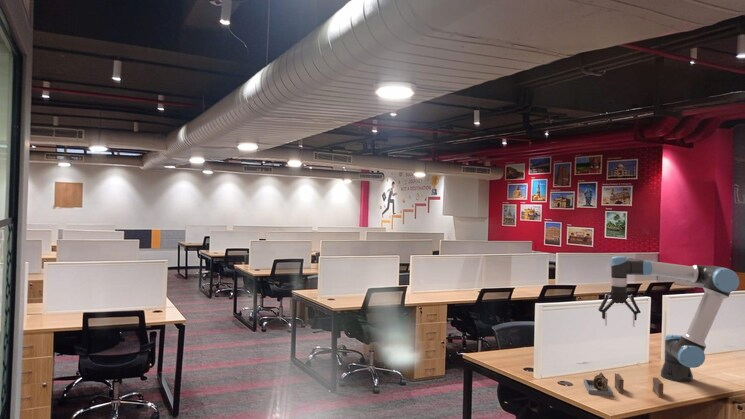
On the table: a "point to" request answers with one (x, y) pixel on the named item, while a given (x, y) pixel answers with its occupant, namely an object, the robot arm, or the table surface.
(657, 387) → the cradle
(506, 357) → the table surface
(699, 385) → the table surface
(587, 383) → the tray
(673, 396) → the table surface
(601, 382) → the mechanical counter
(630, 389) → the table surface
